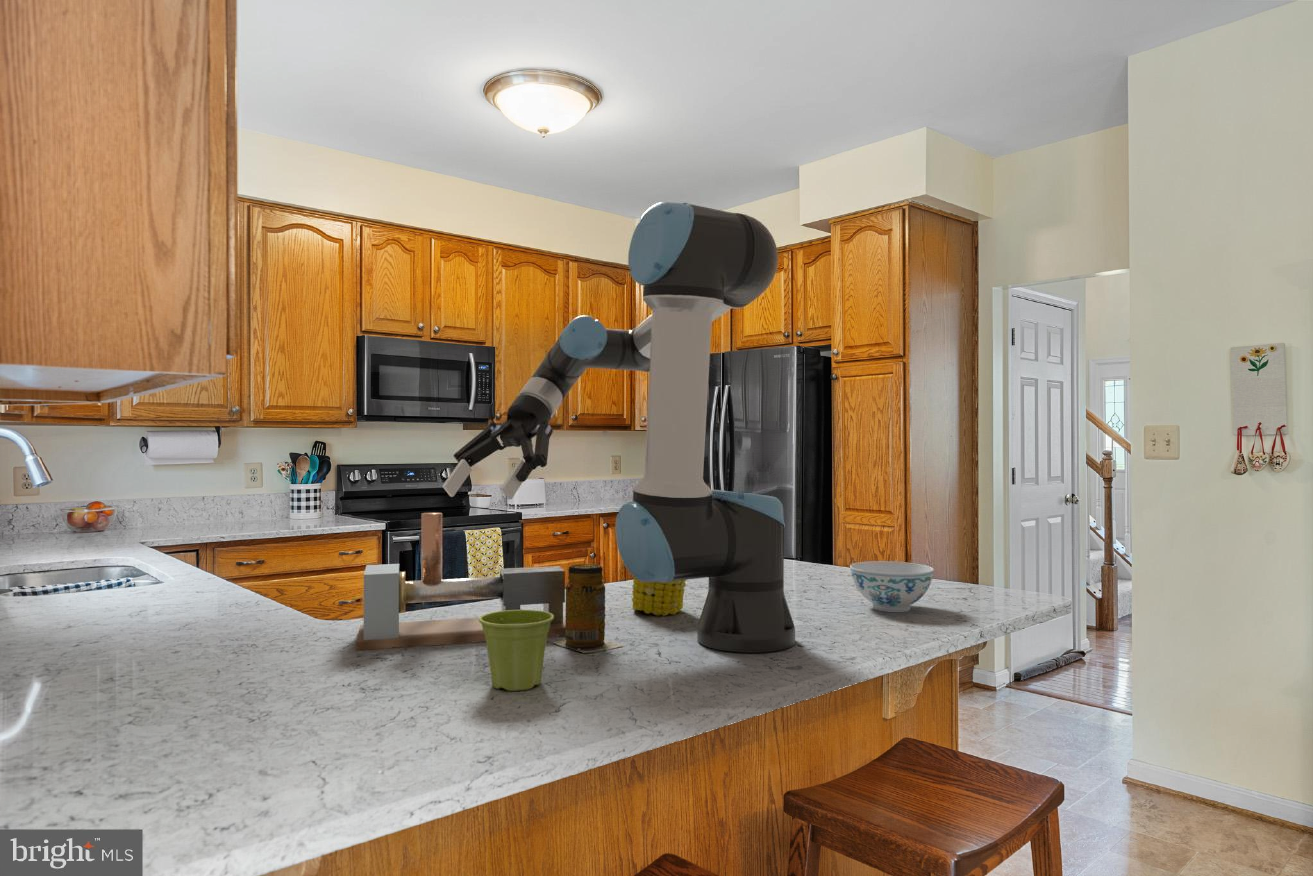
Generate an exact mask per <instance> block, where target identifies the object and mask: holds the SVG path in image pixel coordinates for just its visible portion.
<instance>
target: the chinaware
mask: <svg viewBox="0 0 1313 876" xmlns="http://www.w3.org/2000/svg"><path fill="white" fill-rule="evenodd" d="M849 568H850V573H851V577H852V580H853V583H854V586H855V587H856V588H857V590H858V592H859V593H860V594H861V595H862V596H863V597H864V598H865V599H866V600H867V601H869V602H870V603H872V608H873V610H876V611H879V612H888V613H905V612H909V611H911V605H914V604H915V603H917V602H918V601H919V600H921V598H923V597H924V596H925V594H926V593H927V592H928V590H929V587H930V585H931V583H932V581H933V577H934V573H935V569H934V568H933V567H931V566H930V565H926V564H922V563H921V564H919V563H914V562H904V561H892V560H891V561H888V560H887V561H885V560H878V561H877V560H876V561H875V560H874V561H873V560H872V561H871V560H870V561H861V562H860V561H859V562H855V563H854V562H853V563H851V564H850V566H849Z"/></svg>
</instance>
